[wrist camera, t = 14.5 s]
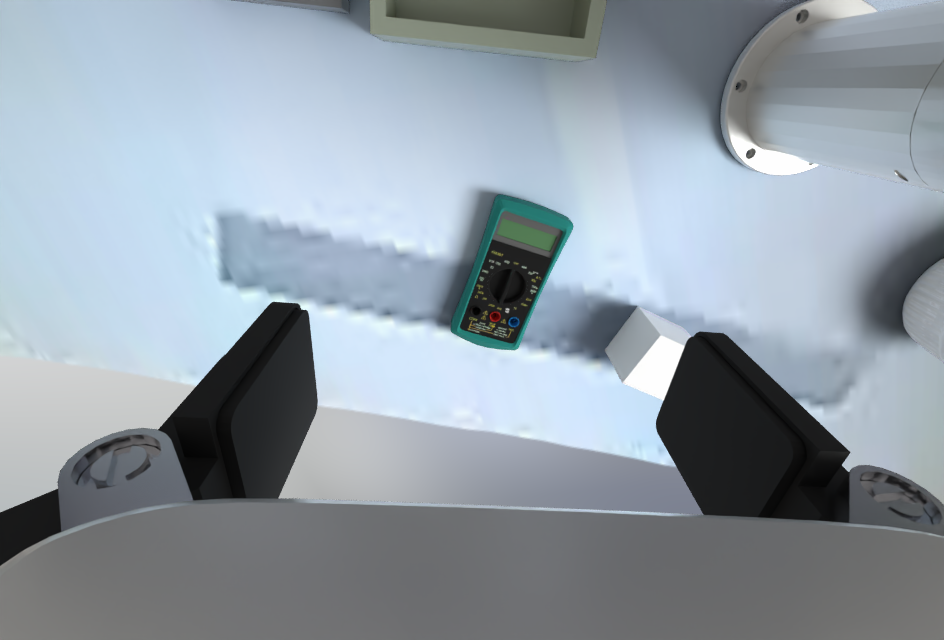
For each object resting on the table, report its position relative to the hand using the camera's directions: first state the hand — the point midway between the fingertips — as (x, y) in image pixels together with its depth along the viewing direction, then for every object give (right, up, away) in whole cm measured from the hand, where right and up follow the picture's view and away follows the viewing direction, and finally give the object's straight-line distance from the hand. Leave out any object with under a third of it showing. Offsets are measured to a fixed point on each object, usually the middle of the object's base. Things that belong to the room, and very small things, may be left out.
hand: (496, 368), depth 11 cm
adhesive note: (+18, -1, +36) cm, 40 cm away
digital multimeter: (+3, +6, +32) cm, 33 cm away
